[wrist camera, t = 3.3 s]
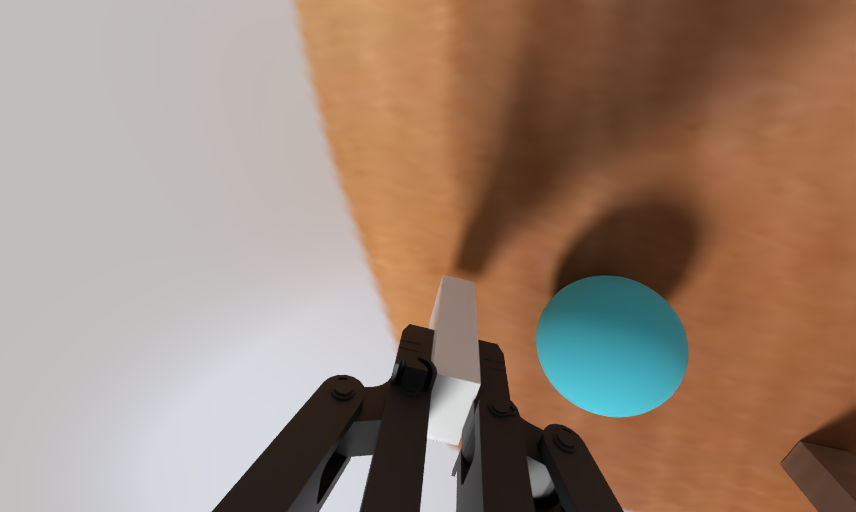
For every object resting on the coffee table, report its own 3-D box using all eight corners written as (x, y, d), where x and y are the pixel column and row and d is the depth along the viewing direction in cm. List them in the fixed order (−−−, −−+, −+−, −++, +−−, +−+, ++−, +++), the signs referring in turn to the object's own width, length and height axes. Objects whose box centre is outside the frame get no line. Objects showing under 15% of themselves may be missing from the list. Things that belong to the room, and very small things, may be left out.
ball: (549, 241, 19) (583, 309, 13) (671, 268, 19) (755, 346, 13) (513, 341, 21) (529, 432, 16) (621, 365, 21) (674, 463, 16)
